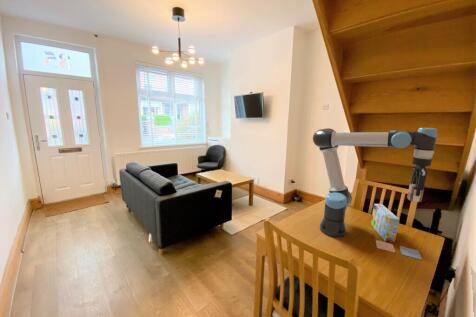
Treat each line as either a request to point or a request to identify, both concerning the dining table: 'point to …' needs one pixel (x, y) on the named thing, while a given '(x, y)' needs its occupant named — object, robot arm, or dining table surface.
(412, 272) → the dining table surface
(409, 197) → the block
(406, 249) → the slate tile
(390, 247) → the terracotta tile
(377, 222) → the snack box
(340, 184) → the robot arm
